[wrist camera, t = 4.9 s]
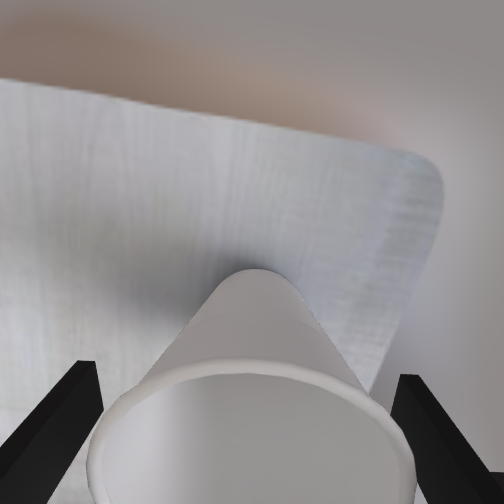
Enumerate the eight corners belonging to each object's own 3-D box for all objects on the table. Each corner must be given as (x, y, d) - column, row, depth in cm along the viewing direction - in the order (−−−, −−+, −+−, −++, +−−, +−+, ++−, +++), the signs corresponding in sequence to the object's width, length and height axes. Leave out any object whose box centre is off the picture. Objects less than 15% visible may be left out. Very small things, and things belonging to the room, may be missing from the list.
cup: (259, 204, 17) (253, 286, 6) (361, 312, 19) (487, 511, 8) (152, 305, 19) (20, 485, 9) (253, 391, 21) (245, 619, 11)
